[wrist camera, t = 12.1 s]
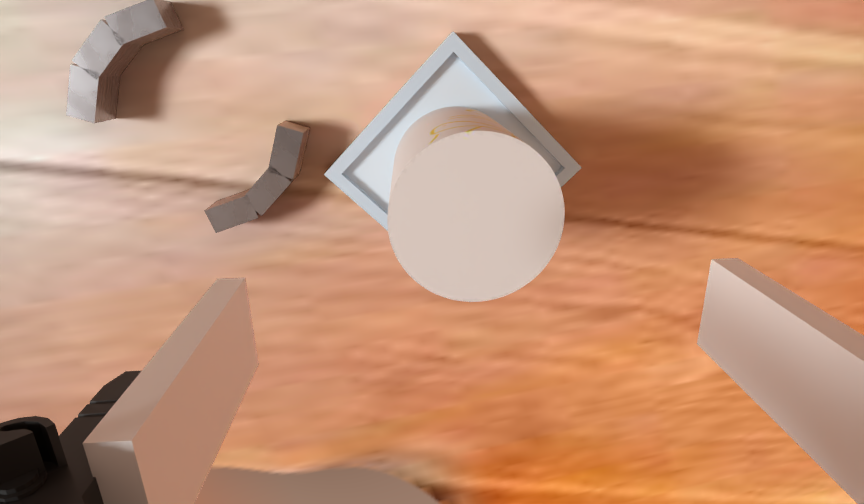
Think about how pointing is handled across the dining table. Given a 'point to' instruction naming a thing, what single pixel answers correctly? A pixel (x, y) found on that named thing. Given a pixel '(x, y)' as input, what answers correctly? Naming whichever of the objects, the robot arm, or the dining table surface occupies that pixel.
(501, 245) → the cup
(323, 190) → the dining table surface
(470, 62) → the tray
